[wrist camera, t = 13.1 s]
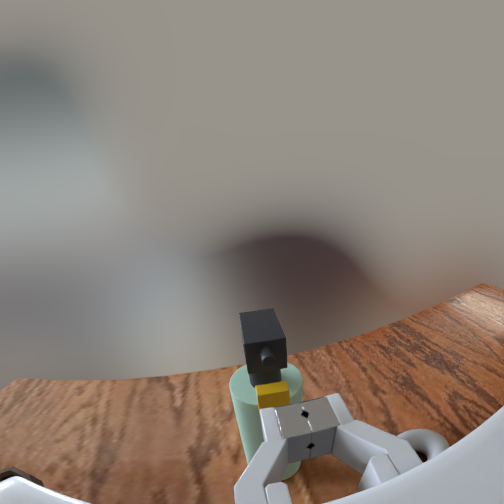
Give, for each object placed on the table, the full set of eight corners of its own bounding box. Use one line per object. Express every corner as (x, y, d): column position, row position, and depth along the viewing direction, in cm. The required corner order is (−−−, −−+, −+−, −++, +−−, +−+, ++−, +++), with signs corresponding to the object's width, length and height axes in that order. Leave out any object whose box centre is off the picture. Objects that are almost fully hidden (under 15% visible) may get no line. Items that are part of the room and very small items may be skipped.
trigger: (260, 420, 18) (257, 395, 18) (258, 410, 20) (255, 385, 19) (290, 415, 19) (289, 390, 18) (287, 405, 20) (286, 380, 19)
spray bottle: (252, 491, 23) (218, 358, 18) (245, 447, 31) (218, 310, 26) (308, 481, 24) (316, 343, 18) (294, 438, 31) (290, 300, 26)
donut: (443, 436, 24) (381, 437, 28) (451, 421, 23) (386, 423, 27) (444, 491, 15) (371, 495, 19) (456, 479, 14) (378, 484, 18)
